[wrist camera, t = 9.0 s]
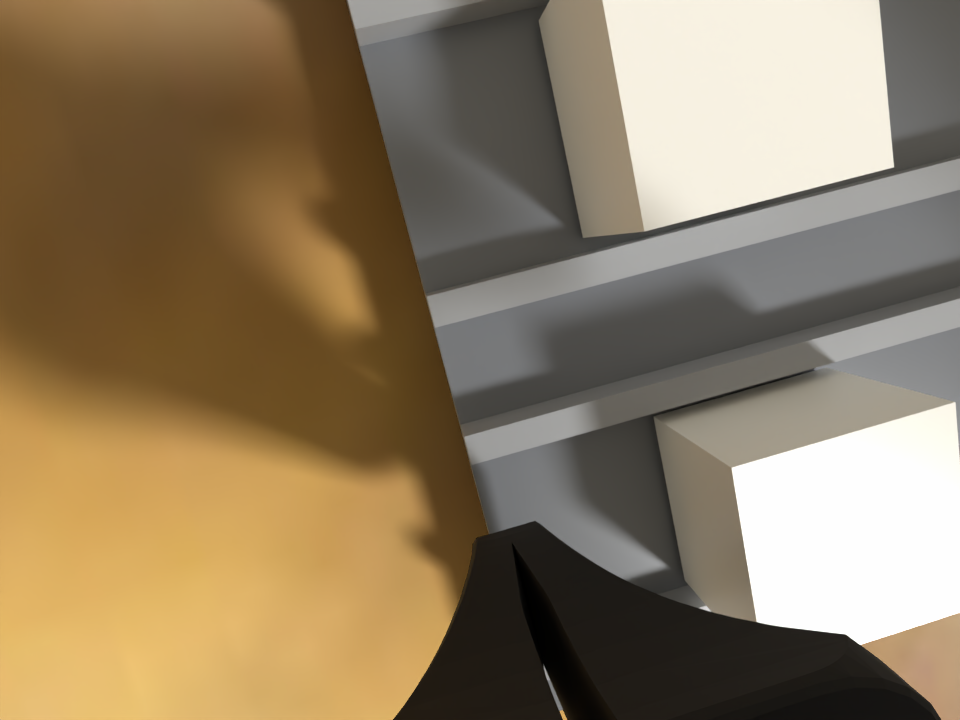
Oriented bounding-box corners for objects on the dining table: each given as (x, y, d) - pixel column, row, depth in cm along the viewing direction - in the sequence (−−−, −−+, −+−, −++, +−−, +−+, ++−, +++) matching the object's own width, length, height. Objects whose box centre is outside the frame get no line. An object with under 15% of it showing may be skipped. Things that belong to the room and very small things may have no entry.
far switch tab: (826, 367, 12) (955, 402, 9) (845, 530, 13) (970, 609, 10) (653, 416, 12) (731, 467, 9) (684, 579, 13) (765, 674, 10)
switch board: (1179, -211, 13) (1378, -332, 11) (1172, 456, 17) (1321, 495, 14) (337, -32, 12) (316, -119, 9) (521, 658, 15) (546, 745, 13)
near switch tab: (741, -26, 11) (866, -131, 8) (770, 190, 12) (894, 167, 9) (539, 20, 10) (589, -72, 7) (582, 237, 11) (644, 231, 8)
